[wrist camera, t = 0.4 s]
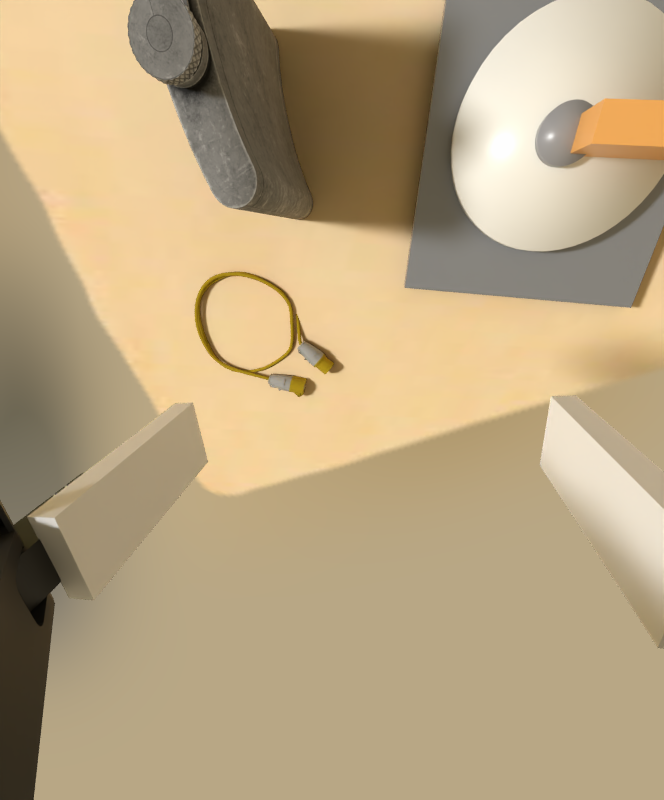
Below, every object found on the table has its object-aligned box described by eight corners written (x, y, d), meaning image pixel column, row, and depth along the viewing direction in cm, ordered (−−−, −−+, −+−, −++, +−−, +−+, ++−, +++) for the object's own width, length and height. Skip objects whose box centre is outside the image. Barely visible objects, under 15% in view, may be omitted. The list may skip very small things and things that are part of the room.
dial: (434, 243, 33) (441, 245, 28) (475, -1, 26) (493, -52, 21) (645, 259, 31) (691, 263, 26) (748, 0, 24) (833, -56, 20)
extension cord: (257, 415, 45) (251, 423, 44) (178, 302, 41) (168, 305, 39) (342, 372, 41) (339, 378, 40) (264, 241, 37) (257, 242, 35)
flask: (280, 225, 36) (186, 215, 20) (232, 39, 31) (50, -185, 14) (316, 215, 35) (249, 197, 19) (273, 22, 30) (129, -236, 13)
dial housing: (454, -62, 26) (457, -81, 25) (765, -66, 24) (790, -87, 23) (404, 285, 36) (404, 287, 35) (621, 304, 34) (632, 308, 33)
